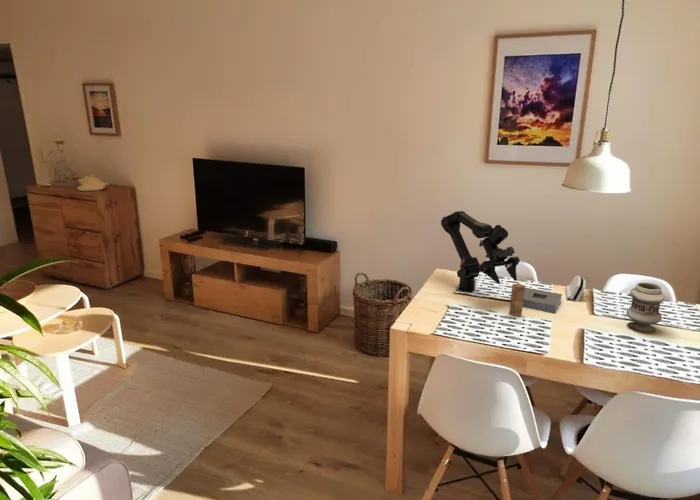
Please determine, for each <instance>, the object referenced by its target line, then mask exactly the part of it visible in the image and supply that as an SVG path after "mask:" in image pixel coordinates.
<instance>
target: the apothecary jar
mask: <svg viewBox="0 0 700 500" xmlns="http://www.w3.org/2000/svg"><path fill="white" fill-rule="evenodd" d="M629 296H630V297H631V299H632V300H631V305H630V307H628V308H627V309H626V315H627V317H628V318H629V319H630V320H631V321H630V322H628V323H627V327H628V328H629V330H630V329H631V330H633V331H634V332H637V333H641V334H653V333H656V330H657V329H656V328H655V327H654V326H653V325H656V324H658V323H660V322H661V320H662V315H661V313H660V306H661V303H663V302H664V301H665V300H666V299H665V298H666V297H665V294H664V293H663V292H662V287H661V285H659V284H657V283H653V282H643V281H642V282H641V281H640V282H637V283H636V284H635V287H634V288H632V289H631V290H630V292H629Z"/></svg>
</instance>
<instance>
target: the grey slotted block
mask: <svg viewBox="0 0 700 500" xmlns="http://www.w3.org/2000/svg"><path fill="white" fill-rule="evenodd" d="M562 296H563V294H562V293H558V292H557V293H556V292H552V291H545V290H542V289H535V288H531V287H526V286H525V290H524V298H523V307H522V308H525V309H526V308H527V309H532V310H537V311H540V312H541V311H542V312H547V313H551V314H556V312H557V310H558V309H559V306H560V304H561V302H562Z"/></svg>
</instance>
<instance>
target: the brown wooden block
mask: <svg viewBox="0 0 700 500" xmlns="http://www.w3.org/2000/svg"><path fill="white" fill-rule="evenodd" d="M525 287H526V286H525V285H523V284H521V283H515V284H514V283H513V284H511V295H510V303H509V312H508V314H509V315H511V316H512V317H514V318H515V317H520V316H522V315H523V313H522V312H523V308H524V307H523V298H524V290H525Z"/></svg>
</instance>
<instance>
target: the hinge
mask: <svg viewBox="0 0 700 500" xmlns="http://www.w3.org/2000/svg"><path fill="white" fill-rule="evenodd" d="M586 285H587V282H586V280H585V278H584V277H581V276H580V275H575V276H574V277H573V279H572V281H571V282H570V284H568V285H566V286H565V287H564V295H565V301H568V299H570V300H574V302H577V303H578V302H579V301H580V299H581V297H582V295H583V293H584V292H585V290H586V287H587V286H586Z"/></svg>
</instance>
